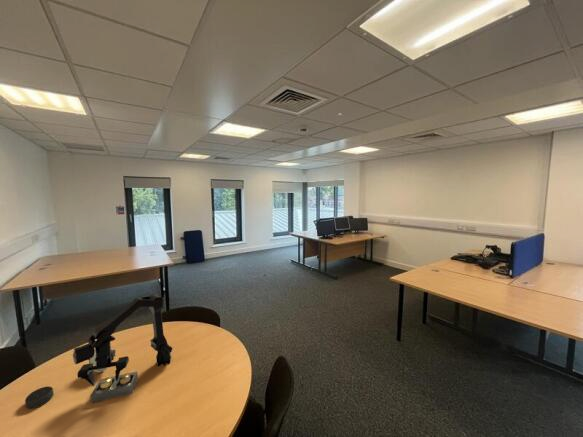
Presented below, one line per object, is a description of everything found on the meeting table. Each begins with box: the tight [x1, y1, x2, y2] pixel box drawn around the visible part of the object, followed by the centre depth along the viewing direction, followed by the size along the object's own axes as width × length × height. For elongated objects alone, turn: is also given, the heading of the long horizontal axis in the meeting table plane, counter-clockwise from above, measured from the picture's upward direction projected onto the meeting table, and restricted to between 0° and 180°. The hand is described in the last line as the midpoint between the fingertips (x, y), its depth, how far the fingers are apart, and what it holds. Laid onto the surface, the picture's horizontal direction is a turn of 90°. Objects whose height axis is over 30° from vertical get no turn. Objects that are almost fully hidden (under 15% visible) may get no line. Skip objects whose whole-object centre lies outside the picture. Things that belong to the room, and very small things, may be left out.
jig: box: [90, 371, 139, 404], centre depth 116 cm, size 16×10×4 cm, turn 110°
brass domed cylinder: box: [100, 376, 112, 390], centre depth 115 cm, size 4×4×6 cm
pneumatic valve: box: [87, 353, 107, 374], centre depth 130 cm, size 6×12×12 cm, turn 78°
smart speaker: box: [24, 386, 54, 409], centre depth 110 cm, size 9×9×4 cm
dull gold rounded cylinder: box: [120, 372, 131, 385], centre depth 118 cm, size 4×4×6 cm
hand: (105, 383), depth 115 cm, fingers open, 9 cm apart
